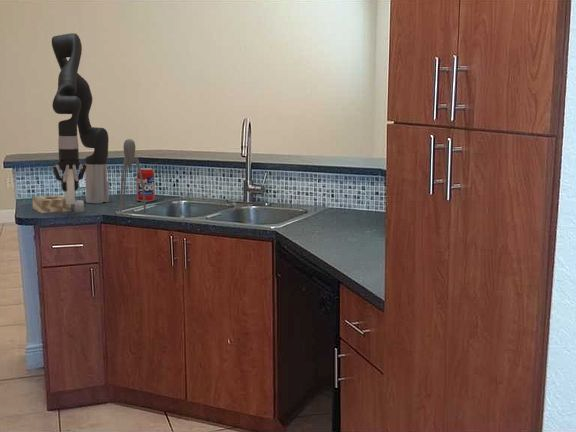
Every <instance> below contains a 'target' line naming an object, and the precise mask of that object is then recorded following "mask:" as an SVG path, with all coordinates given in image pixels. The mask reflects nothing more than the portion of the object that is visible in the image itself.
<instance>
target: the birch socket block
mask: <svg viewBox="0 0 576 432" xmlns="http://www.w3.org/2000/svg"><path fill="white" fill-rule="evenodd" d="M31 199H32V210H34V211H36V212H38V213H40V214H51V213H62V212H63V213H65V212H72V204H66V197H65V196H64V195H47V196H46V195H45V196H32V198H31Z"/></svg>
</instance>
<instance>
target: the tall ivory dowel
mask: <svg viewBox="0 0 576 432" xmlns="http://www.w3.org/2000/svg"><path fill="white" fill-rule="evenodd" d="M66 187H67V191H64V192H65V196H64V197H66V204H71V205H75V201H76V191H75V183H74V172H73V169H68V174H67V177H66Z"/></svg>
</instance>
